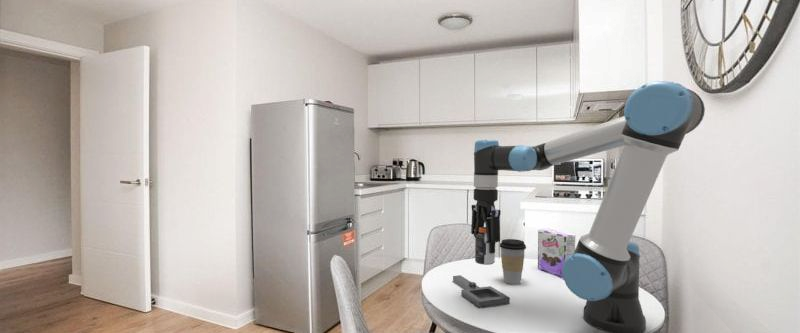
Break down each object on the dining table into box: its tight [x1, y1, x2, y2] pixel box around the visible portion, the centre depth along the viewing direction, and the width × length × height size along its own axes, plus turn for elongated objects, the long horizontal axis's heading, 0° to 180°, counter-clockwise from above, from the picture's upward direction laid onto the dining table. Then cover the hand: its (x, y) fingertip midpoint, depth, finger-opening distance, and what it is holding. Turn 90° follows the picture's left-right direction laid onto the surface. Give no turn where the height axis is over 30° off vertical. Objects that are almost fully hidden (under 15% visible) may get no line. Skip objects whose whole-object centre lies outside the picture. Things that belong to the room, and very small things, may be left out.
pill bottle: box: [474, 226, 494, 266], centre depth 122 cm, size 6×6×11 cm
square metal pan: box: [452, 274, 511, 309], centre depth 128 cm, size 25×11×3 cm, turn 19°
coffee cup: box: [499, 238, 527, 286], centre depth 139 cm, size 9×9×15 cm
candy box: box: [537, 228, 576, 279], centre depth 150 cm, size 14×6×16 cm, turn 25°
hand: (484, 259), depth 122 cm, fingers closed on pill bottle, 6 cm apart
